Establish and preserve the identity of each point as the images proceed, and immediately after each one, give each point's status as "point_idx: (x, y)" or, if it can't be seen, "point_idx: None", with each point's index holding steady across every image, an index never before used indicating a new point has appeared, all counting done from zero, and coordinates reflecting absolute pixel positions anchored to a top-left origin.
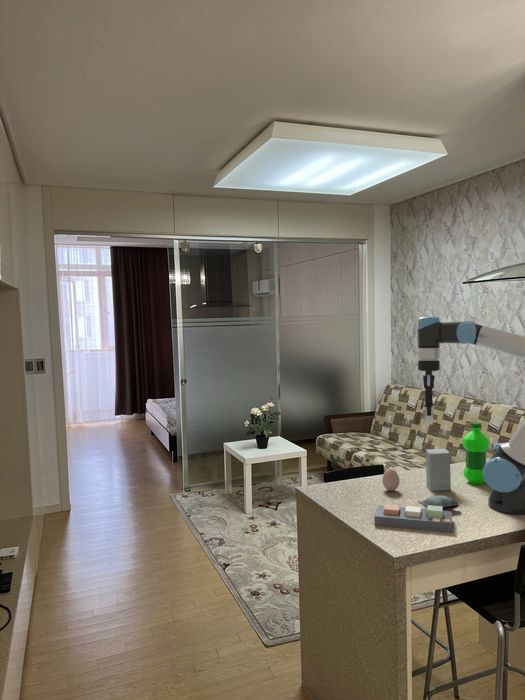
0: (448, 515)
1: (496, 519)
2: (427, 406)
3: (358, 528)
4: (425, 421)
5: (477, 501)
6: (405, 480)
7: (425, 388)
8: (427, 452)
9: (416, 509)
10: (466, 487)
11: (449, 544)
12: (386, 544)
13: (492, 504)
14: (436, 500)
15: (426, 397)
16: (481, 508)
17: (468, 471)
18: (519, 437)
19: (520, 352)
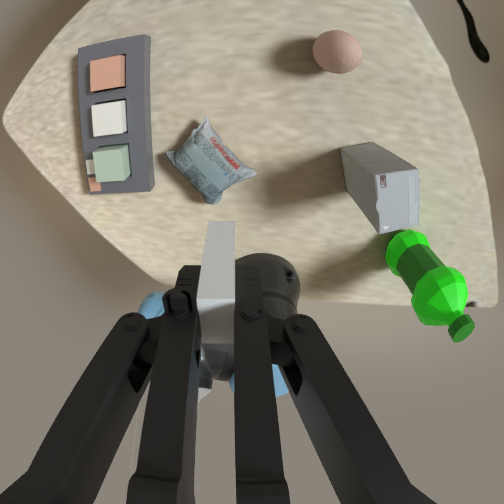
0: (125, 186)
1: (187, 258)
2: (163, 318)
3: (66, 30)
4: (207, 231)
5: (283, 236)
6: (411, 99)
7: (37, 456)
8: (398, 170)
9: (106, 126)
10: (370, 223)
11: (54, 186)
12: (22, 97)
13: (242, 262)
14: (185, 162)
15: (85, 381)
16: (241, 240)
17: (402, 243)
18: (140, 420)
19: None
